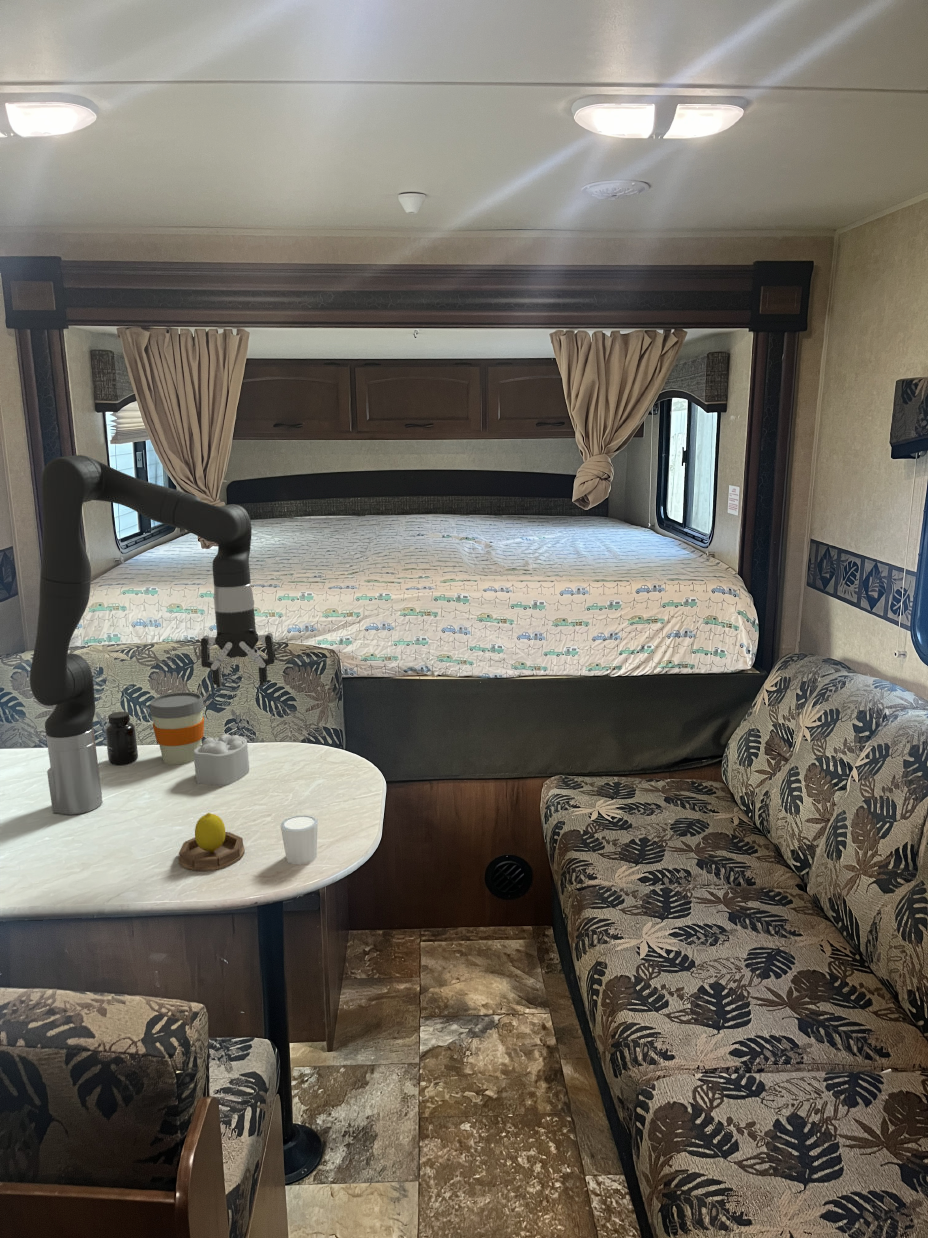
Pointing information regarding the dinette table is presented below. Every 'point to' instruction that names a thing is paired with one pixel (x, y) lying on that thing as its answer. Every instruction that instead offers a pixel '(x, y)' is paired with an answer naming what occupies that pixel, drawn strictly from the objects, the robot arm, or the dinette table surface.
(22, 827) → the dinette table surface
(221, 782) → the lumpy-topped squat cylinder
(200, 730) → the reusable coffee cup
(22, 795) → the dinette table surface
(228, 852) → the ring dish
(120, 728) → the supplement bottle
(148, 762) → the dinette table surface
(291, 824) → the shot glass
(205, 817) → the lemon
